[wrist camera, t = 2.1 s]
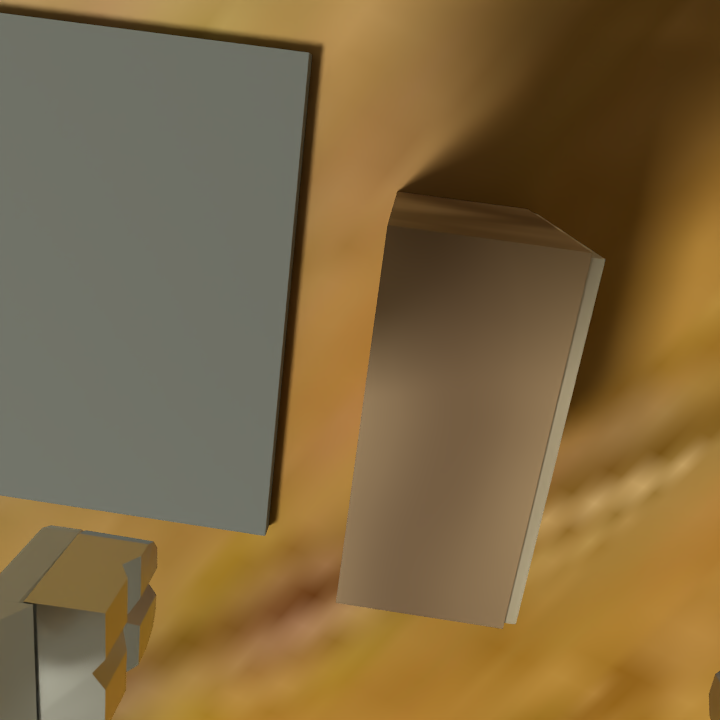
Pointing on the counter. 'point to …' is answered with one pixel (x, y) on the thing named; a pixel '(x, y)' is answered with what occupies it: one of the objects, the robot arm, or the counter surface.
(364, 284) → the counter surface
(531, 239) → the wooden block
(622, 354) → the counter surface
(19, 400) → the rubber mat
